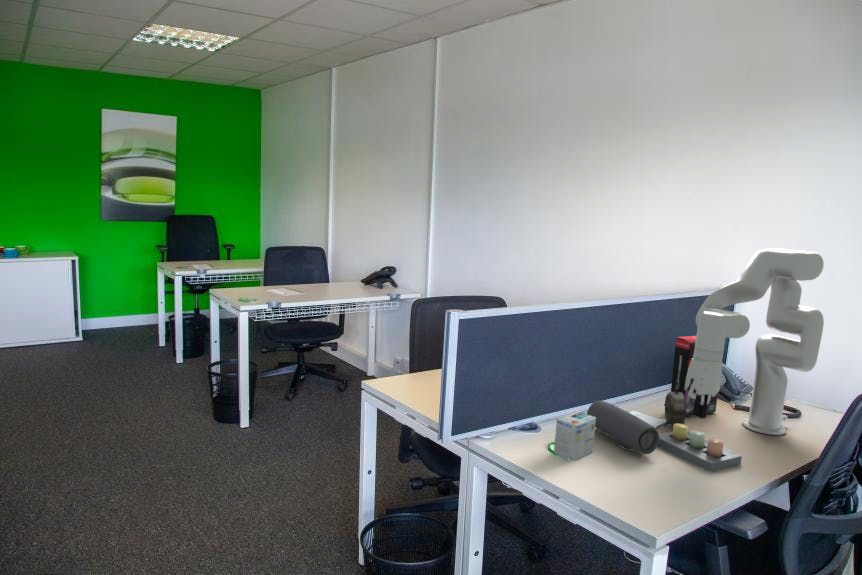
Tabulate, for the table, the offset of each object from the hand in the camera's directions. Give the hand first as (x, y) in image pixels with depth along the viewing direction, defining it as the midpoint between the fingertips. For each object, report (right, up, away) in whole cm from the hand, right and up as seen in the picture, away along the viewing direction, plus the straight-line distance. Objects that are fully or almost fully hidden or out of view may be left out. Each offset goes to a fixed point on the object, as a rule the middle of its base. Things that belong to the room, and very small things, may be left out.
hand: (699, 416), depth 174 cm
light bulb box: (-37, -10, -3) cm, 39 cm away
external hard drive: (-6, -8, +27) cm, 29 cm away
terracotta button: (+3, -10, -3) cm, 11 cm away
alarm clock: (+1, -9, +22) cm, 23 cm away
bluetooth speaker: (-21, -10, +7) cm, 24 cm away
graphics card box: (+14, -7, +37) cm, 40 cm away
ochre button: (-3, -8, +7) cm, 11 cm away
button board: (0, -11, +2) cm, 12 cm away
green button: (0, -9, +2) cm, 9 cm away
